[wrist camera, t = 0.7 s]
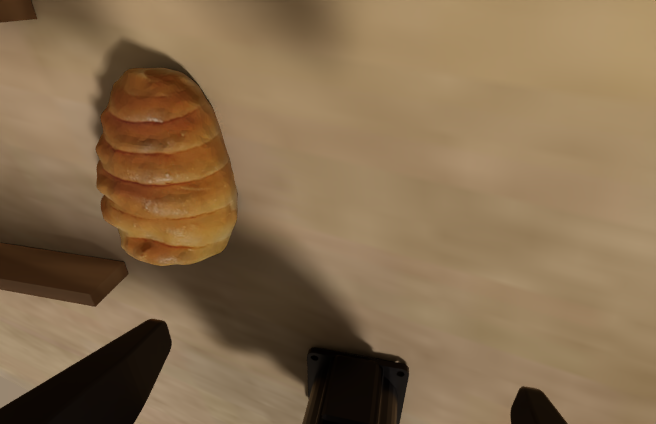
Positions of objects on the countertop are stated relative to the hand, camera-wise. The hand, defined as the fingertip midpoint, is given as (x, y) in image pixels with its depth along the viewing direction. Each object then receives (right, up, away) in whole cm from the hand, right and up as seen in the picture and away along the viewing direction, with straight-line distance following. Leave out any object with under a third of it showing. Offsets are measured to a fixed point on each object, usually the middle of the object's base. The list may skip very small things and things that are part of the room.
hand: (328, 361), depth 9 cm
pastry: (-8, +6, +11) cm, 14 cm away
